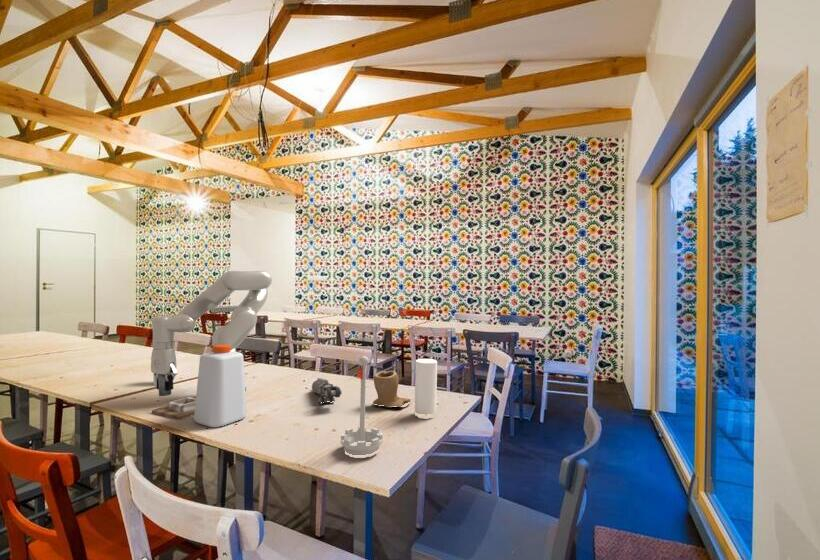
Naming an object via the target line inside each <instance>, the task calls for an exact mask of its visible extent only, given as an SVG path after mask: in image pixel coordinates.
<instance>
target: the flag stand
mask: <svg viewBox="0 0 820 560" xmlns="http://www.w3.org/2000/svg"><path fill="white" fill-rule="evenodd" d="M358 362H359V364H360V369H359V371H358V373H357V375H356V377H357V378H359V379H360V396H359V397H360V406H359V426H358V429H357V430H356V429H355V430H354V429H353V428H352V427H350V428H347V429H345V430H344V432H342V433H341V434H340V444H341V446H343V451H344V450H345V451H346V452H347V453H349V454H352V455H366V454H371V453H373V452H375V451H377V450H378V449H379V450H380V446H382V444H383V437H384V436H383V435H384V434H383V432H380V429H378V428H376V427H372V428H371V430H369V429H367V426H365V425H366V379H367V378H366V377H367V364H369V358H368V356H366V355H363V356H360V358H359V360H358ZM354 442H357V445H355V444H352V443H354ZM366 442H371V443H372V444H367V445H366Z"/></svg>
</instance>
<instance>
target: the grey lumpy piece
mask: <svg viewBox="0 0 820 560" xmlns="http://www.w3.org/2000/svg"><path fill="white" fill-rule="evenodd" d="M311 390H312V391H313V392H314V391H315V392H314V393H316V394H318V395H319V398H318V403H319V402H320V403H321V402H322V403H323V402H325V403H328V402H327V401H330V402H332V401H334V402H335V401H336V399H335V398H340V397H341V395H342V393H343V391H342V389H341V387H339V386H338V385H336V386H335V385H334V384H332V383H330V381H329V380H328V379H326V378H322V377H317V378H316V380H315V381H313V383H312V384H311ZM334 402H333V403H334ZM320 403H319V404H320Z"/></svg>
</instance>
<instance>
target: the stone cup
mask: <svg viewBox="0 0 820 560" xmlns="http://www.w3.org/2000/svg"><path fill="white" fill-rule="evenodd" d="M373 384H374V385H373V386H374V388H375V391H376V394H377V398H376V399H374V400H373V401H372V404H373V405H374V404H377V405H384V406H397V407H401V406H402V405H404V404H405V403H408V402H410V401H411V398H405V397H399V396H398V388H399V375H398V373H397V372H396V371H394V370H388V371H385V370H383V371H379V372H376V373H375V374H374V376H373ZM410 403H411V402H410Z"/></svg>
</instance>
